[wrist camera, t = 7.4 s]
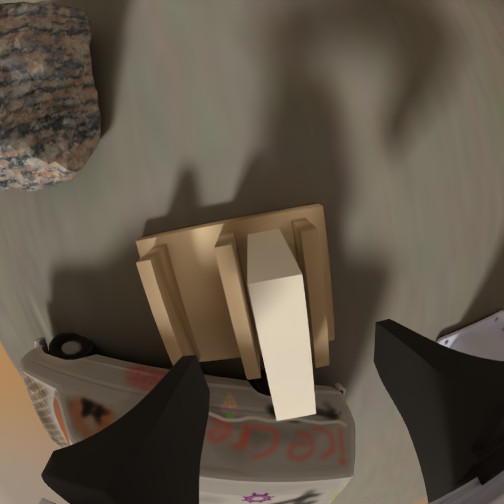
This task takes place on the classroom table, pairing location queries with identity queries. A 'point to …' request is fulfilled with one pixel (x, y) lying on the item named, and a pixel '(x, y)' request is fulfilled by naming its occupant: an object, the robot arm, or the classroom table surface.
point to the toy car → (217, 430)
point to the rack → (231, 285)
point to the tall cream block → (281, 323)
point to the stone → (45, 95)
